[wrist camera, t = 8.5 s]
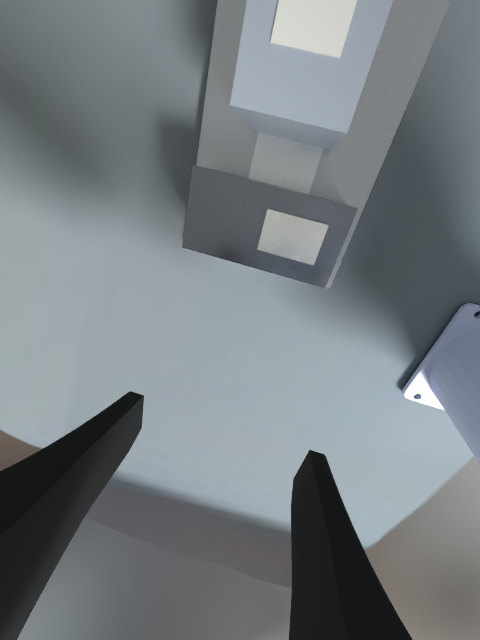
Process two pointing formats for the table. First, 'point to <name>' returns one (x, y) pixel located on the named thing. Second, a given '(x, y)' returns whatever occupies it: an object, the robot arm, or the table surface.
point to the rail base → (298, 157)
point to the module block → (305, 66)
